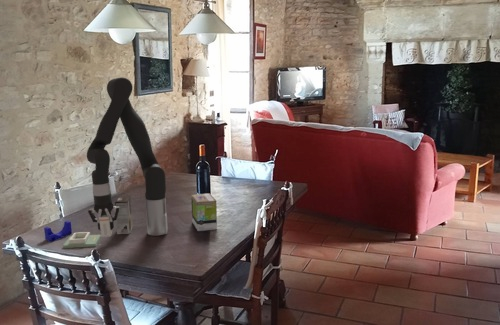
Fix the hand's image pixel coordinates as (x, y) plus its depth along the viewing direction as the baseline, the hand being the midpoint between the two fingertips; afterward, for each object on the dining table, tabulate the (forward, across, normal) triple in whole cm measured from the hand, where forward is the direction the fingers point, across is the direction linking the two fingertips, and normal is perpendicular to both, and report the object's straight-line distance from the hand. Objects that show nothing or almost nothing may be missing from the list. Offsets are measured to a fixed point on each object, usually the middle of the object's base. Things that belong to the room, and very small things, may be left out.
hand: (106, 229), depth 217 cm
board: (+7, +12, -5) cm, 14 cm away
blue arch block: (+7, +24, -14) cm, 29 cm away
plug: (+2, 0, 0) cm, 2 cm away
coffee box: (+8, -6, -17) cm, 20 cm away
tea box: (+9, -44, -18) cm, 48 cm away
